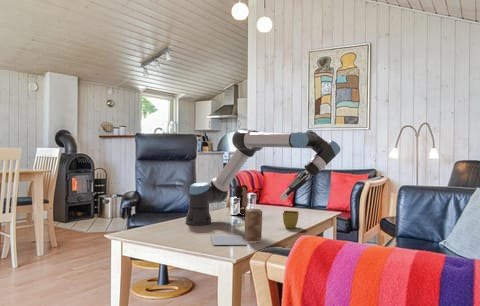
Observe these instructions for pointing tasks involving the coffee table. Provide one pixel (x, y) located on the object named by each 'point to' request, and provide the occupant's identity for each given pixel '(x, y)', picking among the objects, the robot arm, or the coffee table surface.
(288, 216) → the flower pot
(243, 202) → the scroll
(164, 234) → the coffee table surface
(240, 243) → the mat
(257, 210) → the walnut block
